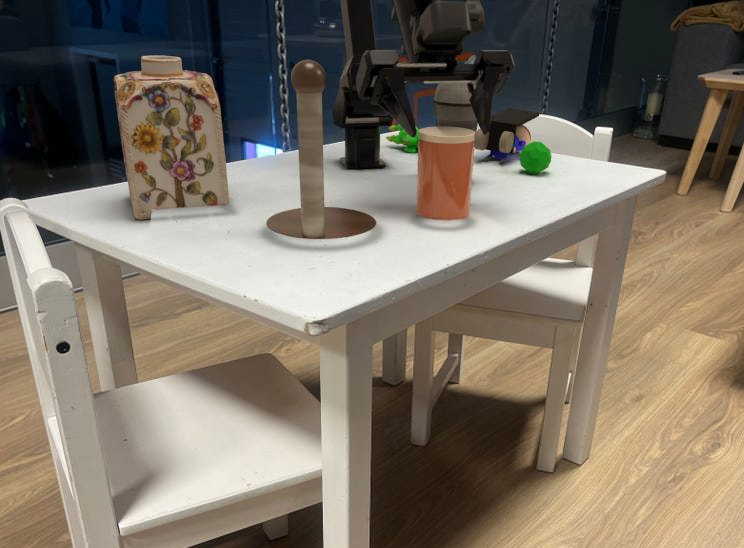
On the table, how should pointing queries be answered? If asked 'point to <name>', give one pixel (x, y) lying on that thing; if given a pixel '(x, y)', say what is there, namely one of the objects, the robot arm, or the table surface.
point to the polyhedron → (535, 157)
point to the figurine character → (505, 133)
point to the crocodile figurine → (404, 138)
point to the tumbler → (444, 172)
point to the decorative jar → (171, 137)
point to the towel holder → (314, 169)
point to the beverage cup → (454, 106)
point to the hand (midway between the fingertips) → (451, 134)
